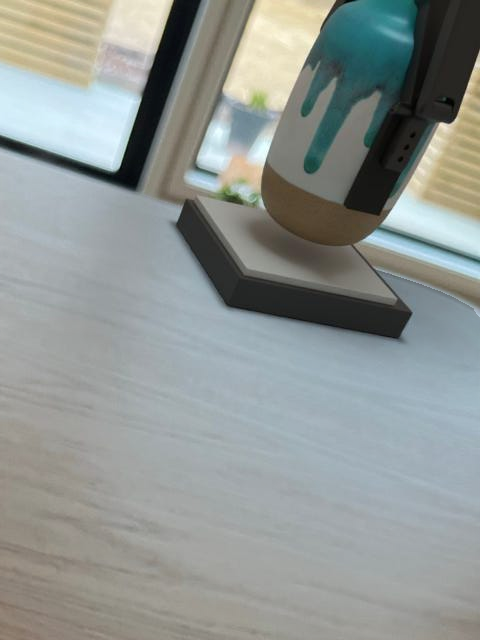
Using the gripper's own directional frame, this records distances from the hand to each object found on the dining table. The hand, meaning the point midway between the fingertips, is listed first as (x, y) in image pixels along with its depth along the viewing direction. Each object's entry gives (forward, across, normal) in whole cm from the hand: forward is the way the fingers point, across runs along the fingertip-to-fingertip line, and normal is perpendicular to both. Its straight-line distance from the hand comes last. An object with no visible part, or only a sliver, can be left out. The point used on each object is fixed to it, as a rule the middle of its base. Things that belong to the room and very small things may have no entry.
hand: (331, 178), depth 79 cm
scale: (+8, 0, 0) cm, 8 cm away
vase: (+5, 0, 0) cm, 5 cm away
